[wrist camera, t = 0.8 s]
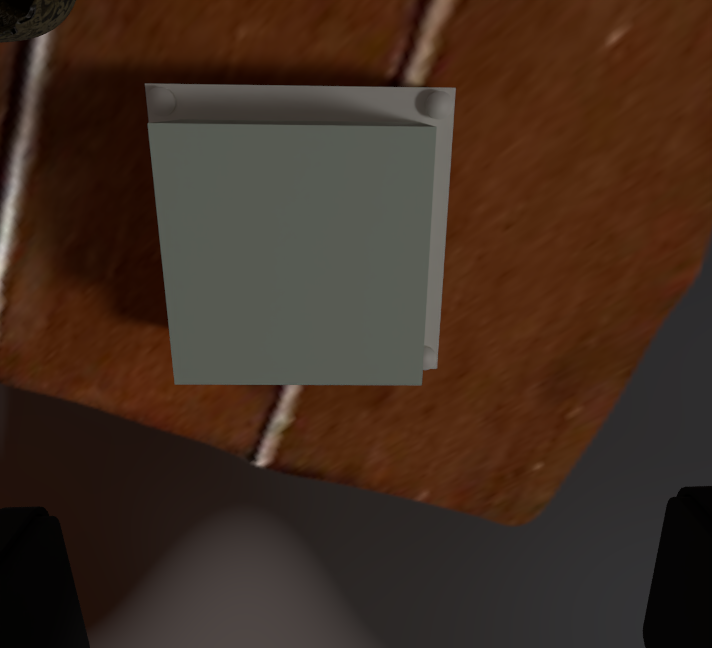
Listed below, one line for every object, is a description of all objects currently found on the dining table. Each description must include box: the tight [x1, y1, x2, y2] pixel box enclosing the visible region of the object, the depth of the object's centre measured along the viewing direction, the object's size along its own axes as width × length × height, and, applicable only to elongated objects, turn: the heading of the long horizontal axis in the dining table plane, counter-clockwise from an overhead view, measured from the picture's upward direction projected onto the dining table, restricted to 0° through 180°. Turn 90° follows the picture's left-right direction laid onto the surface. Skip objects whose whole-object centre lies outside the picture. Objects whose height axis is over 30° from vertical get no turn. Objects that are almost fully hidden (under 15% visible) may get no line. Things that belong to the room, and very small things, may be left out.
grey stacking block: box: [145, 84, 456, 385], centre depth 29 cm, size 14×14×10 cm
